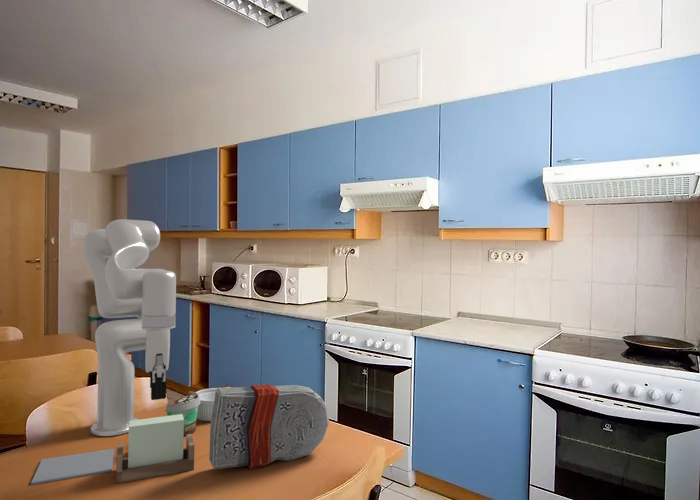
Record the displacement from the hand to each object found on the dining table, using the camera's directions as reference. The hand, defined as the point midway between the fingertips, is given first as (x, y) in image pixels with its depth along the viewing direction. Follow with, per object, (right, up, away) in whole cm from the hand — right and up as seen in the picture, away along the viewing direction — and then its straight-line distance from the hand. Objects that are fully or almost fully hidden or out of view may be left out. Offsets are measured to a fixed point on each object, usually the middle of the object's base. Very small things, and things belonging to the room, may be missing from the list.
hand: (157, 392), depth 108 cm
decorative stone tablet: (+26, -19, +6) cm, 33 cm away
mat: (-20, -18, +1) cm, 27 cm away
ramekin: (+3, -19, +36) cm, 41 cm away
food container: (-1, -19, +22) cm, 29 cm away
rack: (-1, -19, 0) cm, 19 cm away
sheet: (-1, -19, 0) cm, 19 cm away
